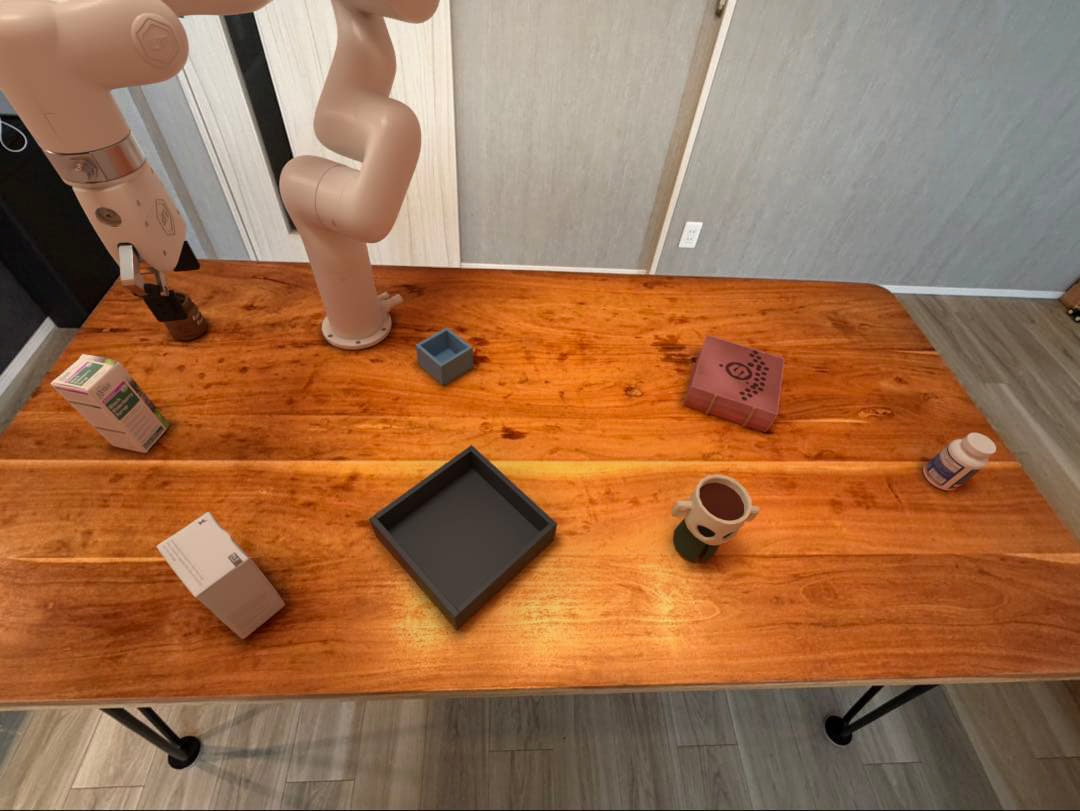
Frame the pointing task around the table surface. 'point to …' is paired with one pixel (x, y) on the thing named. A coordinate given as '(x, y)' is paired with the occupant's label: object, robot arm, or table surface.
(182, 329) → the utensil holder
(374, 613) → the table surface
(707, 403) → the book
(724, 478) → the character mug
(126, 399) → the syrup box
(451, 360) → the small bin
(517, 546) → the large bin
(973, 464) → the pill bottle
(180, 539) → the cosmetic box
